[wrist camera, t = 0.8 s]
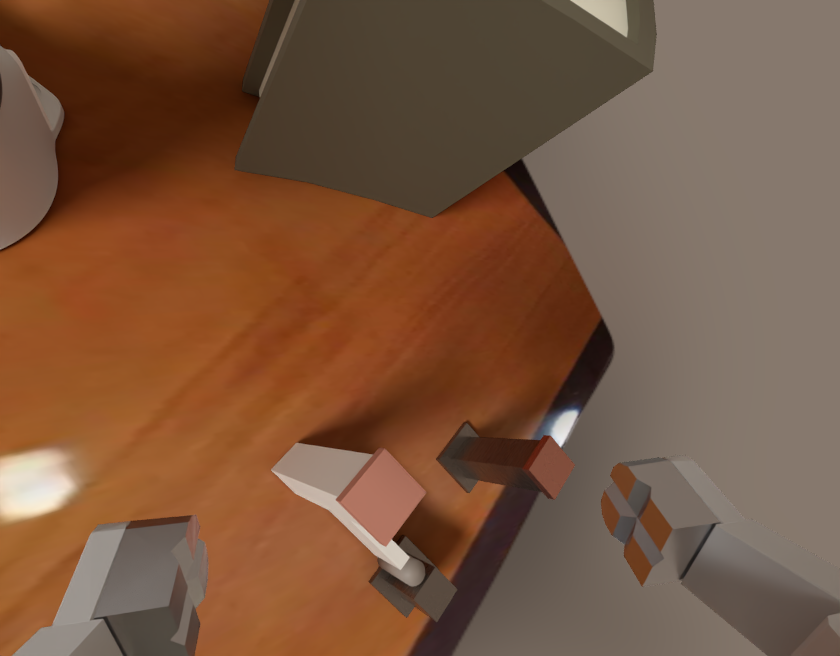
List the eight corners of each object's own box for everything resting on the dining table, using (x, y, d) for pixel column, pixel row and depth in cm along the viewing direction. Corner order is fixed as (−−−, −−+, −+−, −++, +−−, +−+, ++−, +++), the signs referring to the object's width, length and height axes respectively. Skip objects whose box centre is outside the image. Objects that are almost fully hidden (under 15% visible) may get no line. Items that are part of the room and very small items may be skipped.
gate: (265, 470, 41) (340, 502, 25) (296, 437, 42) (385, 448, 27) (380, 581, 44) (511, 671, 28) (405, 547, 46) (541, 614, 30)
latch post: (435, 459, 49) (519, 470, 38) (463, 422, 52) (549, 423, 41) (466, 492, 50) (555, 512, 39) (492, 455, 53) (583, 464, 42)
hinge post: (368, 581, 44) (397, 603, 39) (402, 534, 46) (434, 549, 41) (404, 615, 45) (437, 640, 40) (435, 568, 47) (471, 586, 42)
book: (435, 145, 57) (657, -52, 33) (435, 221, 55) (669, 70, 31) (243, 79, 46) (365, -284, 22) (234, 170, 44) (357, -120, 20)
